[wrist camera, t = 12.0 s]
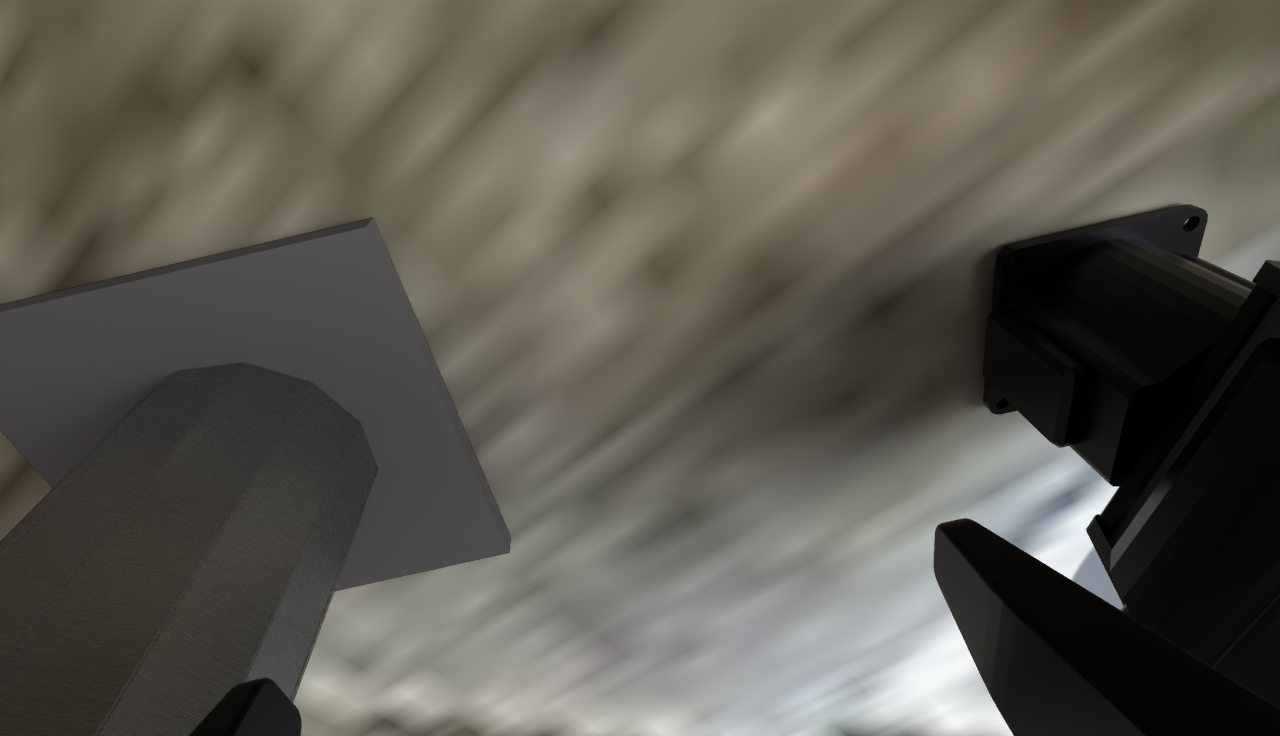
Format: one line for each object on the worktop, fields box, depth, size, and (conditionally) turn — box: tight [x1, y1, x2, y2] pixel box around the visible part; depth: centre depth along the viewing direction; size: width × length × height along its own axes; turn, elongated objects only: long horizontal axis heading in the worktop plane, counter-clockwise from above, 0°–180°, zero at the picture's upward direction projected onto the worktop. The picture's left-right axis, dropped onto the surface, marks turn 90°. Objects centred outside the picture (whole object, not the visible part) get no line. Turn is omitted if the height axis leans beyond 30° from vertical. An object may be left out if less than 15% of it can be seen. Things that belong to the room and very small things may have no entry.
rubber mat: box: [0, 218, 511, 591], centre depth 21 cm, size 13×13×3 cm
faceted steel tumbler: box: [0, 362, 378, 736], centre depth 16 cm, size 7×7×12 cm
